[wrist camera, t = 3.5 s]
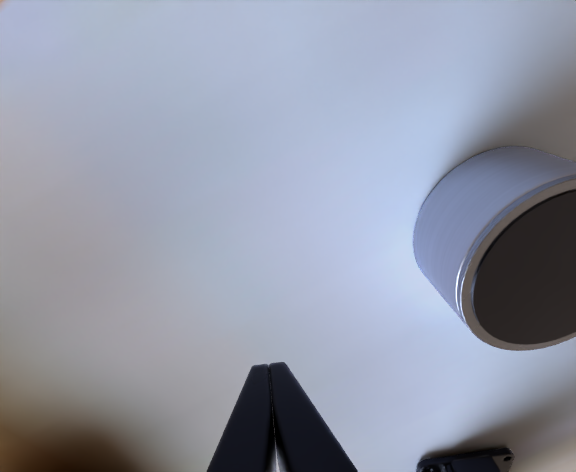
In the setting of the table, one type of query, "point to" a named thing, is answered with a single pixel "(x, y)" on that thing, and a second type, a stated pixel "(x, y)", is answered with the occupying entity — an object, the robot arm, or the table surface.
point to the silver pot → (505, 246)
